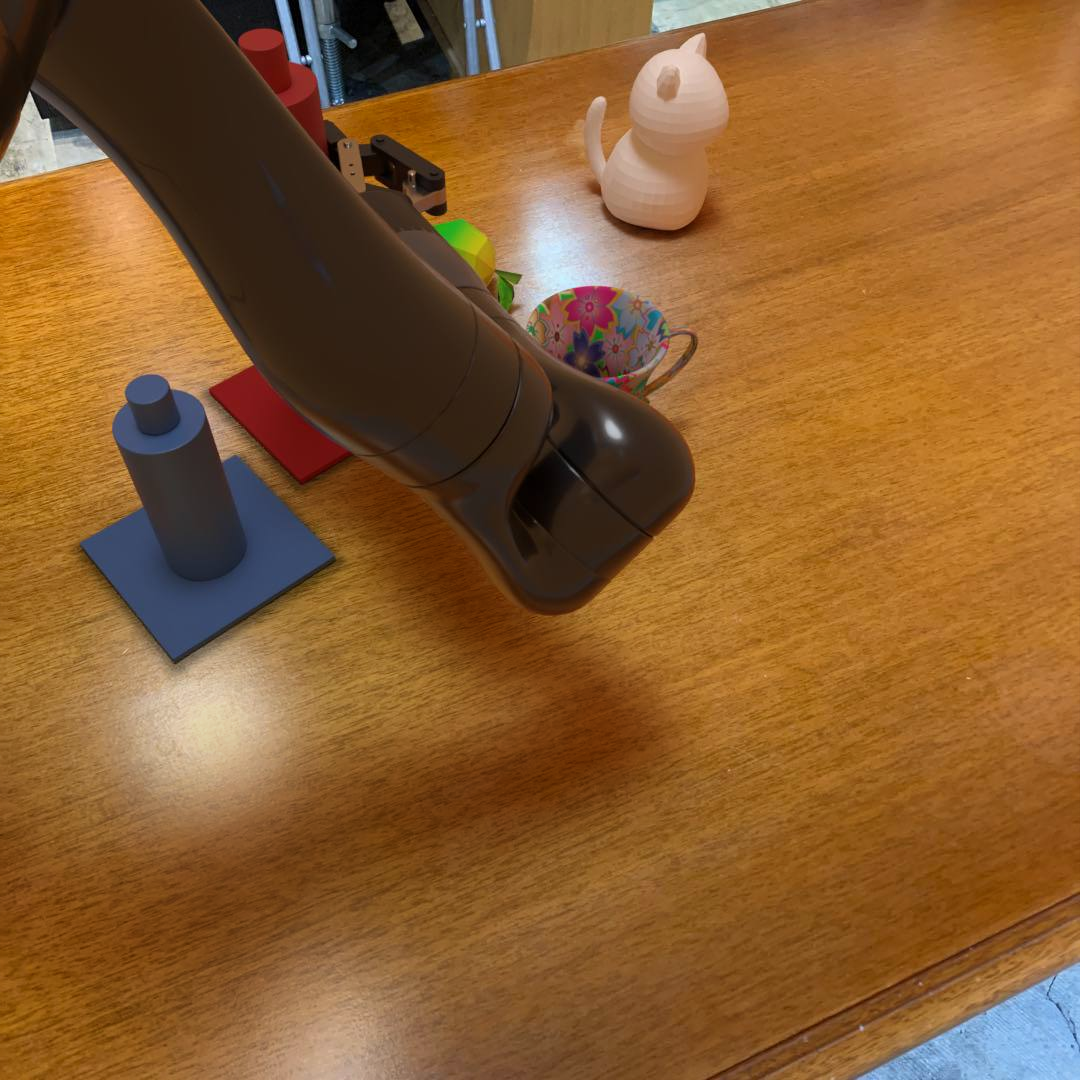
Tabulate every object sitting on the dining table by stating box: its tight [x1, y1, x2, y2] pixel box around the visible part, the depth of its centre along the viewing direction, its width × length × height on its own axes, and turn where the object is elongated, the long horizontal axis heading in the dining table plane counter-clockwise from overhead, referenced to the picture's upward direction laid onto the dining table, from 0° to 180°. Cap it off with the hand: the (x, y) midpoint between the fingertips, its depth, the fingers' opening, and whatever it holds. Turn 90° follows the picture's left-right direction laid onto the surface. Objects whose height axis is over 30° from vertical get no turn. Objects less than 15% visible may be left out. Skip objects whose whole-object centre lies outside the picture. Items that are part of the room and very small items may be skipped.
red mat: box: [208, 364, 353, 485], centre depth 80 cm, size 12×12×1 cm
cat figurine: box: [583, 32, 730, 231], centre depth 90 cm, size 9×12×15 cm
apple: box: [432, 218, 523, 313], centre depth 86 cm, size 7×6×9 cm
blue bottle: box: [111, 373, 247, 581], centre depth 65 cm, size 5×5×14 cm
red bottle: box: [238, 28, 330, 160], centre depth 63 cm, size 5×5×14 cm
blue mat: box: [79, 454, 337, 664], centre depth 71 cm, size 12×12×1 cm
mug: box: [525, 285, 699, 405], centre depth 74 cm, size 12×9×11 cm
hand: (266, 144), depth 65 cm, fingers closed on red bottle, 5 cm apart
